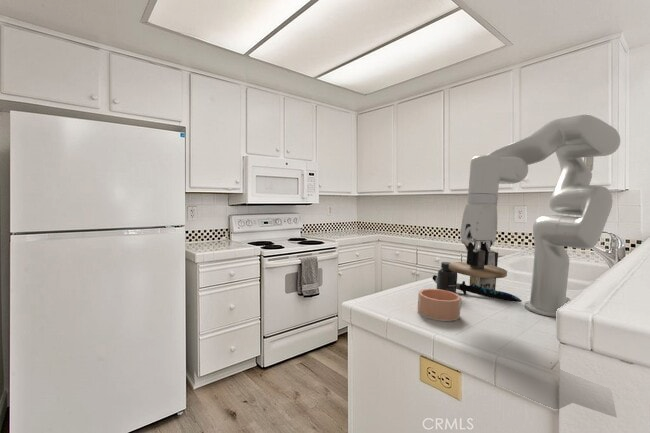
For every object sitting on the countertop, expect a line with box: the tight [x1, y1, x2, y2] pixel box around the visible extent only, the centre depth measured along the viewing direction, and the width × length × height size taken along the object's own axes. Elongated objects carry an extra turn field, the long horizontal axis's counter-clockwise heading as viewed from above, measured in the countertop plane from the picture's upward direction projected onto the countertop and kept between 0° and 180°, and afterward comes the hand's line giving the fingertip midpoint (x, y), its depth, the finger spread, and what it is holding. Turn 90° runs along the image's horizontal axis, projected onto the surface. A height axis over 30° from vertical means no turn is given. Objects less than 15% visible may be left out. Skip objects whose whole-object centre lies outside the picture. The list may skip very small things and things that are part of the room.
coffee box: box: [468, 248, 499, 290], centre depth 127 cm, size 9×6×16 cm
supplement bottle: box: [436, 261, 458, 294], centre depth 120 cm, size 7×7×12 cm
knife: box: [431, 274, 522, 303], centre depth 121 cm, size 31×3×4 cm, turn 60°
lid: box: [449, 248, 508, 279], centre depth 93 cm, size 15×15×6 cm
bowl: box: [417, 288, 462, 322], centre depth 101 cm, size 12×12×6 cm
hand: (477, 264), depth 93 cm, fingers closed on lid, 3 cm apart
